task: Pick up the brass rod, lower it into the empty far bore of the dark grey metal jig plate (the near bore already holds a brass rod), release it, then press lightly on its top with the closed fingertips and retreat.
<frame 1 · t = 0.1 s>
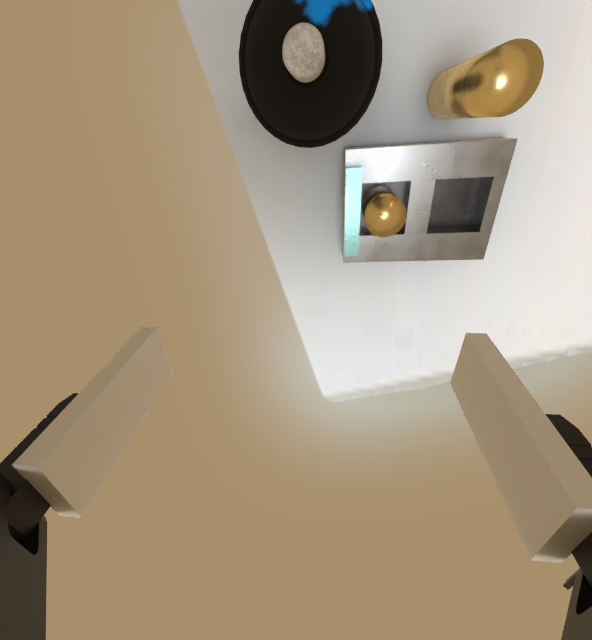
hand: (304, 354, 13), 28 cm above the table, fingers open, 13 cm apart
aerosol can: (319, 90, 31), on the table
jig: (413, 202, 35), on the table
brass rod: (448, 94, 30), on the table
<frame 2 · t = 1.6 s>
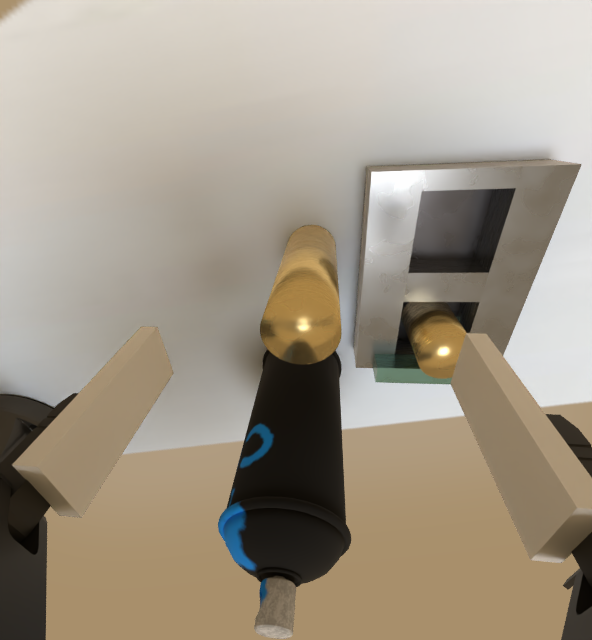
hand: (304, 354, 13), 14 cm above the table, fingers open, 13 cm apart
aerosol can: (301, 365, 32), on the table
jig: (432, 271, 25), on the table
brass rod: (311, 249, 25), on the table
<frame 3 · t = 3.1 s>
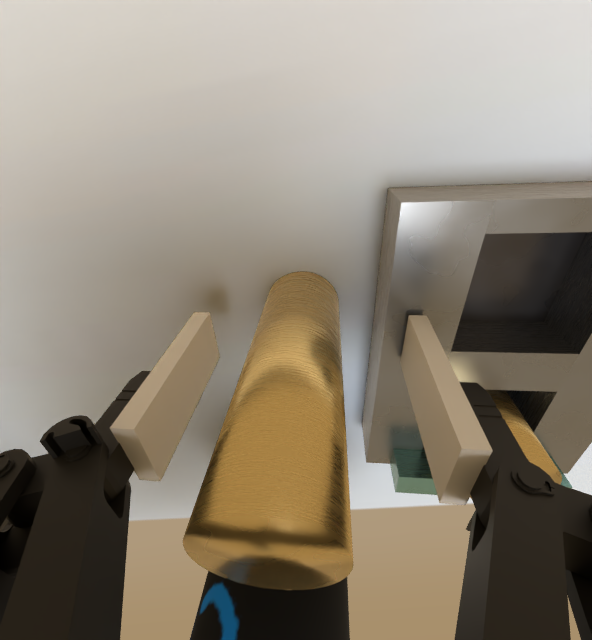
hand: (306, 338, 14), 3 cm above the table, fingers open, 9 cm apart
aerosol can: (293, 440, 24), on the table
jig: (479, 335, 17), on the table
brass rod: (302, 304, 17), on the table
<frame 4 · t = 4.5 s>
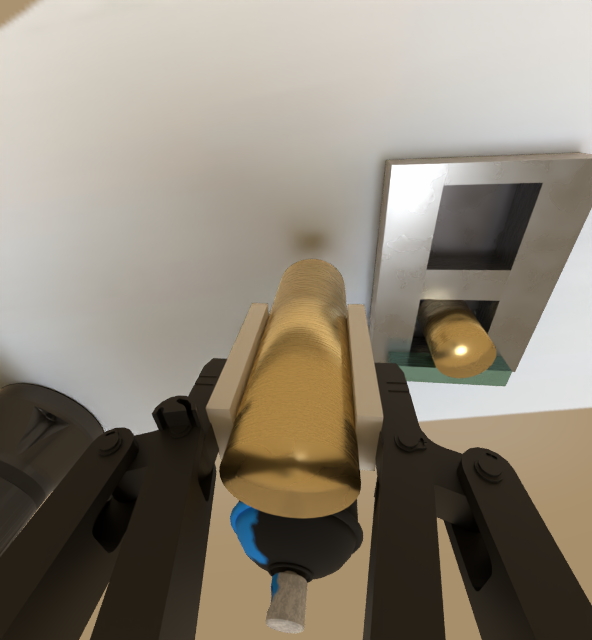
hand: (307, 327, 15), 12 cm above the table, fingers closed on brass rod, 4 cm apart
aerosol can: (314, 361, 32), on the table
jig: (451, 268, 25), on the table
brass rod: (312, 289, 19), point 8 cm above the table, touching gripper
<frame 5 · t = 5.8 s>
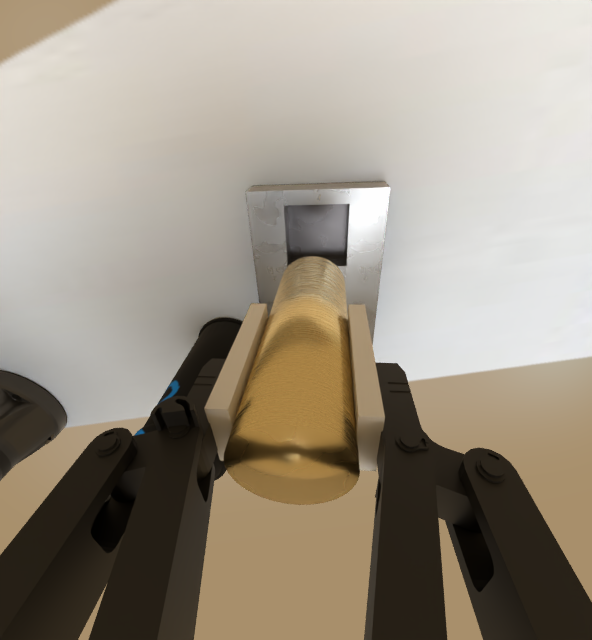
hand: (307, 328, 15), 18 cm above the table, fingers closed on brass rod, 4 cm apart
aerosol can: (231, 343, 39), on the table
jig: (317, 265, 32), on the table
brass rod: (312, 286, 19), point 13 cm above the table, touching gripper
when the fingers open (5 cm above the table, at t = 7.7 s): brass rod stays where it is, resting on jig.
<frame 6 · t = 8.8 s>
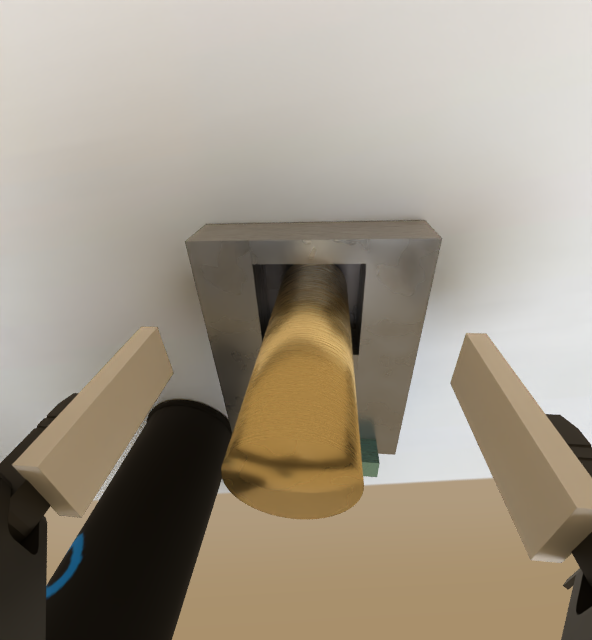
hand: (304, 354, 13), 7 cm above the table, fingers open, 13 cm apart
aerosol can: (193, 428, 28), on the table
jig: (313, 339, 21), on the table
brass rod: (313, 289, 19), resting on jig
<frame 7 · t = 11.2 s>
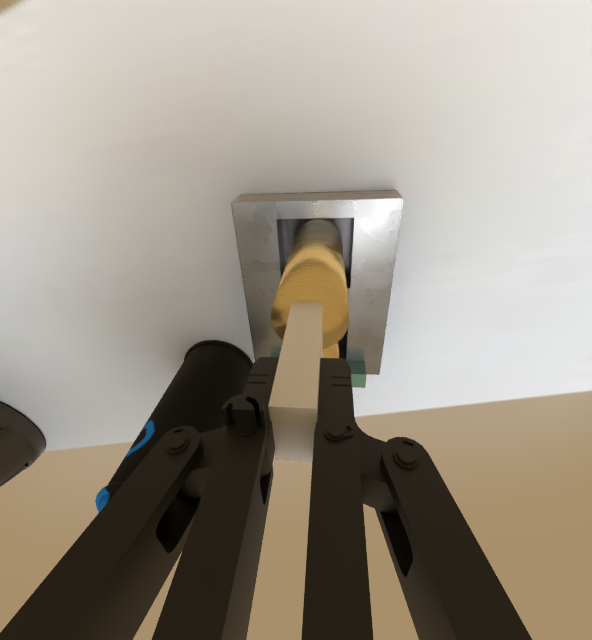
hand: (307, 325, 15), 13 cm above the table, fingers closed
aerosol can: (220, 367, 35), on the table
jig: (317, 285, 28), on the table
brass rod: (318, 243, 26), resting on jig, touching gripper
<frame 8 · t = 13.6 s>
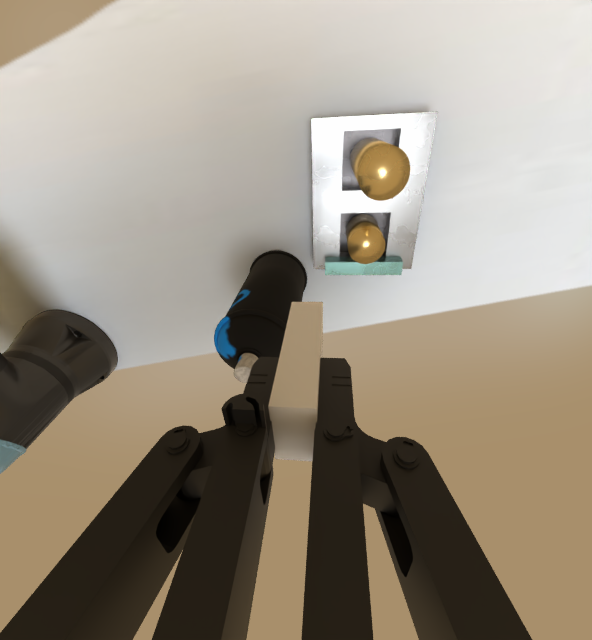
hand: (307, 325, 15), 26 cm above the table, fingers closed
aerosol can: (278, 277, 43), on the table
jig: (364, 196, 36), on the table
brass rod: (368, 158, 34), resting on jig
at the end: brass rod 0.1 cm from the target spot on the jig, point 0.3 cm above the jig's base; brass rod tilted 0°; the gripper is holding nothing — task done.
